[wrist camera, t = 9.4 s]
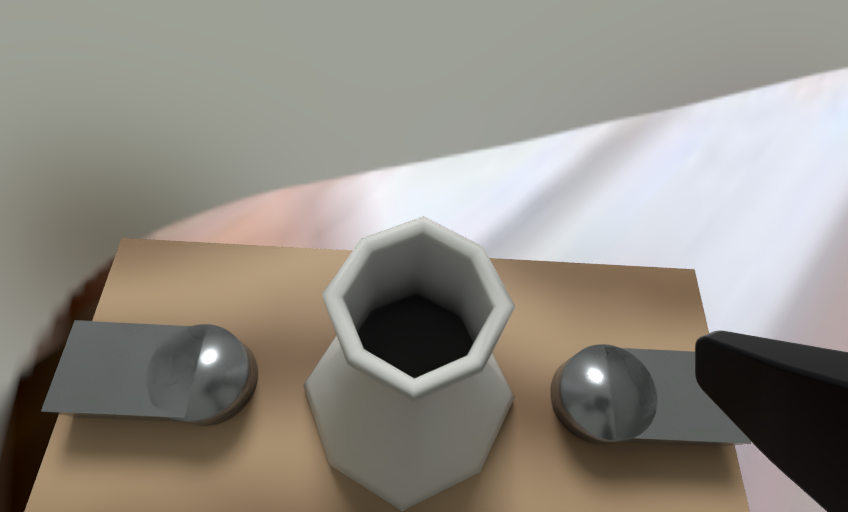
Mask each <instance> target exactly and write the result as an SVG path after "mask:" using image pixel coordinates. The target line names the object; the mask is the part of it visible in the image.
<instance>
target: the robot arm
mask: <svg viewBox="0 0 848 512" xmlns="http://www.w3.org/2000/svg"><path fill="white" fill-rule="evenodd" d="M695 377H696V380H697V383H698V385H699V386H700V388H701V389H702V390H703V391H704V392H705V393H706V394H707V396H708V397H709V398H710V399H711V400H712V401H713V402H714V403H715V404H716V405H717V406H718V407H719V408H720V409H721V410H722V411H723V412H724V413H725V414H726V415H727V416H728V418H729V419H730V420H731V421H732V422H733V423H734V424H735V425H736V426H737V427H738V428H739V429H740V430H741V431H742V432H743V433H744V434H745V435H746V436H747V437H748V439H749V440H750V441H751V442H752V443H753V444H754V445H755V446H756V447H757V448H758V449H759V450H760V451H761V452H762V453H763V454H764V455H765V456H766V457H767V458H768V459H769V460H770V461H771V462H772V463H773V464H774V465H776V466H777V467H778V468H779V469H780V470H781V471H782V472H783V473H784V474H785V475H786V476H788V477H789V478H790V479H791V480H792V481H793V482H794V483H795V484H797V485H798V486H799V487H800V488H801V489H802V490H803V491H804V492H806V493H807V494H808V495H809V496H810V497H811V498H812V499H813V500H815V501H816V502H817V503H818V504H819V505H820V506H821V507H822V508H824V509H825V510H826V511H827V512H848V352H843V351H837V350H831V349H825V348H820V347H814V346H808V345H802V344H797V343H791V342H785V341H779V340H773V339H768V338H762V337H756V336H750V335H745V334H739V333H733V332H727V331H714V332H711V333H709V334H706V335H703V336H701V337H699V338H698V339H697V341H696V343H695Z"/></svg>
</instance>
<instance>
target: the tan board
mask: <svg viewBox="0 0 848 512" xmlns="http://www.w3.org/2000/svg"><path fill="white" fill-rule="evenodd" d="M351 252H352V251H348V250H330V249H312V248H294V247H275V246H257V245H239V244H220V243H202V242H184V241H166V240H147V239H129V238H122V239H121V242H120V245H119V247H118V250H117V253H116V256H115V259H114V261H113V264H112V267H111V270H110V273H109V275H108V278H107V281H106V284H105V287H104V290H103V292H102V295H101V298H100V301H99V304H98V306H97V309H96V312H95V315H94V318H93V320H92V321H97V322H117V323H137V324H157V325H177V326H193V325H200V324H210V325H216V326H219V327H222V328H224V329H226V330H228V331H229V332H230V333H232V334H233V335H234V336H235V337H237V338H238V339H239V340H240V341H241V342H242V343H244V344H245V345H246V346H247V347H248V348H249V349H250V350H251V352H252V353H253V355H254V357H255V359H256V362H257V366H258V381H257V385H256V389H255V391H254V394H253V395H252V397H251V399H250V401H249V402H248V404H247V405H246V406H245V407H244V408H243V409H242V410H241V411H240V412H239V413H238V414H237V415H235V416H234V417H232V418H231V419H229V420H227V421H225V422H222V423H220V424H216V425H211V426H199V425H194V424H190V423H186V422H173V421H151V420H128V419H106V418H84V417H70V416H65V415H59V416H58V419H57V422H56V425H55V427H54V430H53V433H52V436H51V439H50V441H49V444H48V447H47V450H46V453H45V456H44V458H43V461H42V464H41V467H40V470H39V472H38V475H37V478H36V481H35V484H34V486H33V489H32V492H31V495H30V498H29V501H28V503H27V506H26V509H25V512H750V511H749V507H748V502H747V498H746V494H745V489H744V485H743V480H742V476H741V472H740V467H739V463H738V458H737V454H736V450H735V445H731V446H702V445H680V444H658V443H636V442H611V443H605V444H596V443H590V442H586V441H584V440H581V439H579V438H578V437H576V436H574V435H573V434H571V433H570V432H569V431H568V430H567V429H566V428H565V427H564V426H563V425H562V424H561V422H560V421H559V419H558V418H557V416H556V414H555V412H554V409H553V406H552V402H551V396H550V388H551V382H552V379H553V376H554V374H555V372H556V370H557V369H558V368H559V367H560V365H561V364H563V363H564V362H565V361H566V360H568V359H569V358H571V357H572V356H574V355H575V354H576V353H578V352H579V351H581V350H582V349H584V348H586V347H589V346H592V345H598V344H607V345H613V346H617V347H619V348H634V349H654V350H674V351H693V352H695V343H696V341H697V339H698V338H699V337H701V336H703V335H706V334H709V331H708V327H707V322H706V318H705V314H704V309H703V305H702V300H701V296H700V292H699V287H698V283H697V278H696V274H695V270H694V269H677V268H659V267H641V266H623V265H604V264H586V263H568V262H549V261H531V260H513V259H495V258H489V259H490V261H491V262H492V264H493V266H494V268H495V270H496V272H497V273H498V275H499V277H500V279H501V281H502V283H503V285H504V286H505V288H506V290H507V292H508V294H509V296H510V297H511V299H512V301H513V303H514V305H515V308H514V310H513V312H512V314H511V316H510V318H509V320H508V322H507V324H506V326H505V328H504V330H503V332H502V334H501V336H500V338H499V340H498V342H497V344H496V346H495V348H494V350H493V352H492V353H493V355H494V357H495V359H496V361H497V363H498V365H499V367H500V369H501V371H502V373H503V375H504V377H505V379H506V381H507V383H508V385H509V387H510V389H511V391H512V393H513V395H514V397H515V398H514V400H513V402H512V404H511V407H510V409H509V411H508V413H507V415H506V417H505V420H504V422H503V424H502V426H501V428H500V430H499V433H498V435H497V437H496V439H495V441H494V443H493V446H492V448H491V450H490V452H489V454H488V456H487V459H486V461H485V463H484V465H483V467H482V469H481V472H480V473H478V474H476V475H474V476H472V477H470V478H468V479H466V480H464V481H462V482H460V483H458V484H456V485H454V486H452V487H450V488H448V489H446V490H444V491H442V492H440V493H438V494H436V495H434V496H432V497H430V498H428V499H426V500H424V501H422V502H420V503H418V504H416V505H414V506H412V507H410V508H408V509H406V510H404V511H400V510H399V509H397V508H396V507H394V506H393V505H391V504H390V503H388V502H386V501H385V500H383V499H382V498H380V497H379V496H377V495H376V494H374V493H372V492H371V491H369V490H368V489H366V488H365V487H363V486H362V485H360V484H358V483H357V482H355V481H354V480H352V479H351V478H349V477H348V476H346V475H344V474H343V473H341V472H340V471H338V470H337V469H335V468H334V467H332V466H330V465H329V463H328V460H327V457H326V454H325V451H324V448H323V445H322V442H321V439H320V435H319V432H318V429H317V426H316V423H315V420H314V417H313V414H312V411H311V408H310V405H309V402H308V399H307V396H306V392H305V389H304V386H303V384H304V383H305V381H306V380H307V378H308V377H309V375H310V374H311V372H312V371H313V369H314V368H315V366H316V365H317V363H318V362H319V360H320V359H321V357H322V356H323V354H324V353H325V351H326V350H327V348H328V347H329V345H330V344H331V342H332V341H333V339H334V338H335V336H336V332H335V330H334V327H333V324H332V322H331V319H330V316H329V314H328V311H327V308H326V305H325V303H324V300H323V297H322V293H323V292H324V291H325V289H326V288H327V286H328V285H329V283H330V282H331V281H332V279H333V278H334V276H335V275H336V274H337V272H338V271H339V269H340V268H341V267H342V265H343V264H344V262H345V261H346V260H347V258H348V257H349V255H350V254H351Z"/></svg>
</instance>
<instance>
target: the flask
mask: <svg viewBox="0 0 848 512" xmlns="http://www.w3.org/2000/svg"><path fill="white" fill-rule="evenodd" d="M322 297H323V300H324V303H325V305H326V308H327V311H328V314H329V316H330V319H331V322H332V324H333V327H334V330H335V332H336V336H335V338H334V339H333V341H332V342H331V344H330V345H329V347H328V348H327V350H326V351H325V353H324V354H323V356H322V357H321V359H320V360H319V362H318V363H317V365H316V366H315V368H314V369H313V371H312V372H311V374H310V375H309V377H308V378H307V380H306V381H305V383H304V384H303V386H304V389H305V392H306V396H307V399H308V402H309V405H310V408H311V411H312V414H313V417H314V420H315V423H316V426H317V429H318V432H319V435H320V439H321V442H322V445H323V448H324V451H325V454H326V457H327V460H328V463H329V465H330V466H332V467H334V468H335V469H337V470H338V471H340V472H341V473H343V474H344V475H346V476H348V477H349V478H351V479H352V480H354V481H355V482H357V483H358V484H360V485H362V486H363V487H365V488H366V489H368V490H369V491H371V492H372V493H374V494H376V495H377V496H379V497H380V498H382V499H383V500H385V501H386V502H388V503H390V504H391V505H393V506H394V507H396V508H397V509H399V510H400V511H404V510H406V509H408V508H410V507H412V506H414V505H416V504H418V503H420V502H422V501H424V500H426V499H428V498H430V497H432V496H434V495H436V494H438V493H440V492H442V491H444V490H446V489H448V488H450V487H452V486H454V485H456V484H458V483H460V482H462V481H464V480H466V479H468V478H470V477H472V476H474V475H476V474H478V473H480V472H481V469H482V467H483V465H484V463H485V461H486V459H487V456H488V454H489V452H490V450H491V448H492V446H493V443H494V441H495V439H496V437H497V435H498V433H499V430H500V428H501V426H502V424H503V422H504V420H505V417H506V415H507V413H508V411H509V409H510V407H511V404H512V402H513V400H514V398H515V397H514V395H513V393H512V391H511V389H510V387H509V385H508V383H507V381H506V379H505V377H504V375H503V373H502V371H501V369H500V367H499V365H498V363H497V361H496V359H495V357H494V355H493V353H492V352H493V350H494V348H495V346H496V344H497V342H498V340H499V338H500V336H501V334H502V332H503V330H504V328H505V326H506V324H507V322H508V320H509V318H510V316H511V314H512V312H513V310H514V308H515V305H514V303H513V301H512V299H511V297H510V296H509V294H508V292H507V290H506V288H505V286H504V285H503V283H502V281H501V279H500V277H499V275H498V273H497V272H496V270H495V268H494V266H493V264H492V262H491V261H490V259H489V257H488V255H487V253H486V251H485V249H484V248H483V246H481V245H479V244H477V243H475V242H473V241H471V240H469V239H467V238H465V237H463V236H461V235H459V234H457V233H455V232H453V231H451V230H450V229H448V228H446V227H444V226H442V225H440V224H438V223H436V222H434V221H432V220H430V219H428V218H426V217H424V216H423V217H420V218H418V219H415V220H412V221H409V222H406V223H404V224H401V225H398V226H395V227H393V228H390V229H387V230H384V231H381V232H379V233H376V234H373V235H370V236H368V237H365V238H362V239H361V240H360V241H359V243H358V244H357V245H356V247H355V248H354V250H353V251H352V252H351V254H350V255H349V257H348V258H347V260H346V261H345V262H344V264H343V265H342V267H341V268H340V269H339V271H338V272H337V274H336V275H335V276H334V278H333V279H332V281H331V282H330V283H329V285H328V286H327V288H326V289H325V291H324V292H323V293H322Z"/></svg>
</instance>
